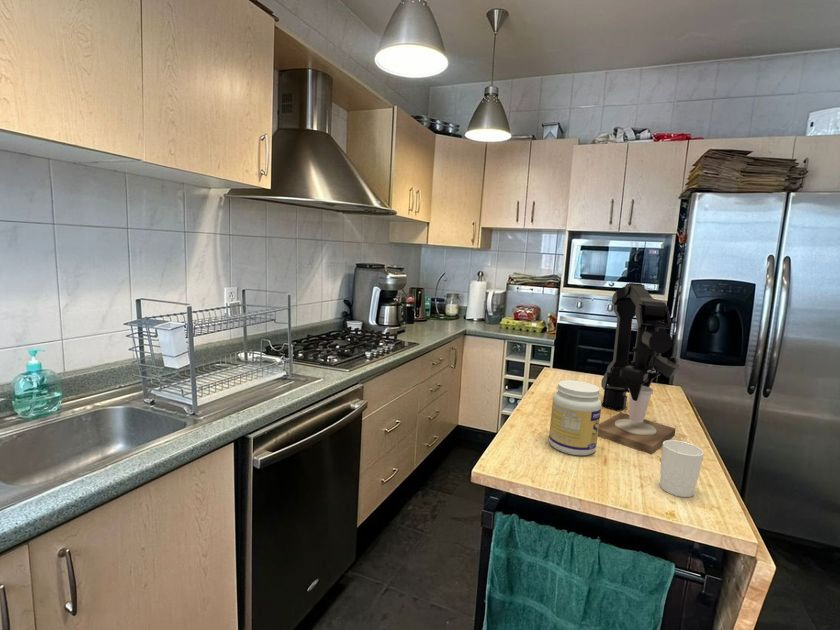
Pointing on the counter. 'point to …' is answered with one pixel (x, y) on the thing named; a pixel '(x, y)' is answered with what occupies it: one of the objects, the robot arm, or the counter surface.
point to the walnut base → (635, 433)
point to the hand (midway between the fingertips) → (639, 398)
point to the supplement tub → (575, 417)
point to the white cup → (680, 467)
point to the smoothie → (639, 404)
